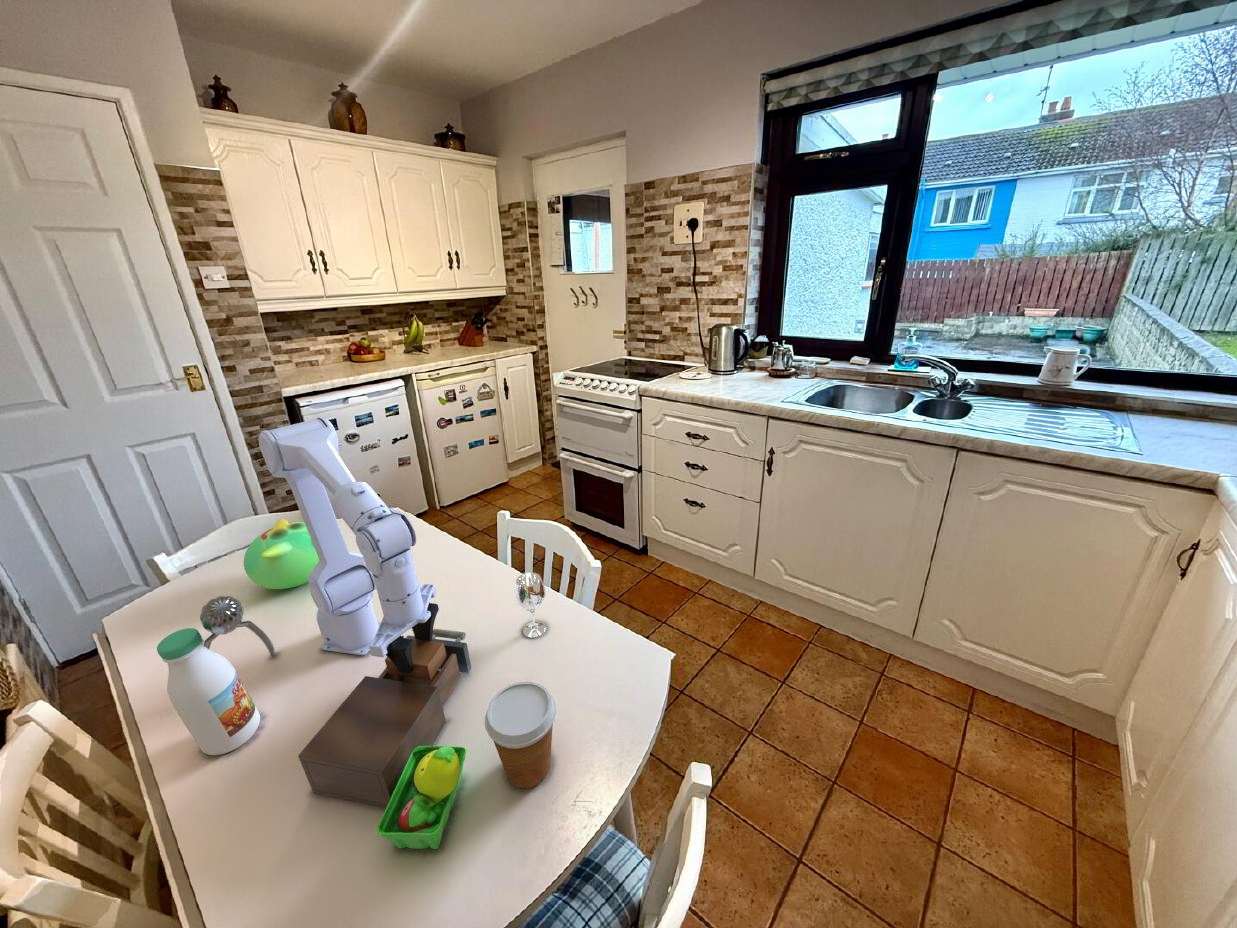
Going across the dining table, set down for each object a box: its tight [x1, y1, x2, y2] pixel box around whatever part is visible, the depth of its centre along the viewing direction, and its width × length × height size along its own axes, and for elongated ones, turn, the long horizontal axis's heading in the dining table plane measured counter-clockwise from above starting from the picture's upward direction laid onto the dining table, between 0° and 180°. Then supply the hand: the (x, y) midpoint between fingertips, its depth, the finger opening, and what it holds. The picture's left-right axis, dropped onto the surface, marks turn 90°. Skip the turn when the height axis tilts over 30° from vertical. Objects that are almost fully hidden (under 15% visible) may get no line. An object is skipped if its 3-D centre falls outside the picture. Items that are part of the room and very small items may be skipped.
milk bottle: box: [156, 627, 261, 756], centre depth 72 cm, size 8×8×20 cm
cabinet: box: [297, 675, 447, 809], centre depth 71 cm, size 14×13×8 cm
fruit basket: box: [376, 745, 467, 850], centre depth 62 cm, size 11×9×11 cm
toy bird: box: [243, 518, 343, 590], centre depth 110 cm, size 18×17×15 cm
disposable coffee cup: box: [484, 680, 557, 789], centre depth 68 cm, size 10×10×12 cm
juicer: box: [199, 595, 276, 657], centre depth 78 cm, size 10×11×30 cm
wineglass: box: [514, 571, 547, 639], centre depth 94 cm, size 6×6×12 cm
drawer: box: [377, 628, 472, 708], centre depth 82 cm, size 17×11×6 cm
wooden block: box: [384, 637, 447, 680], centre depth 79 cm, size 8×5×3 cm, turn 79°
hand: (415, 657), depth 79 cm, fingers closed on wooden block, 5 cm apart
